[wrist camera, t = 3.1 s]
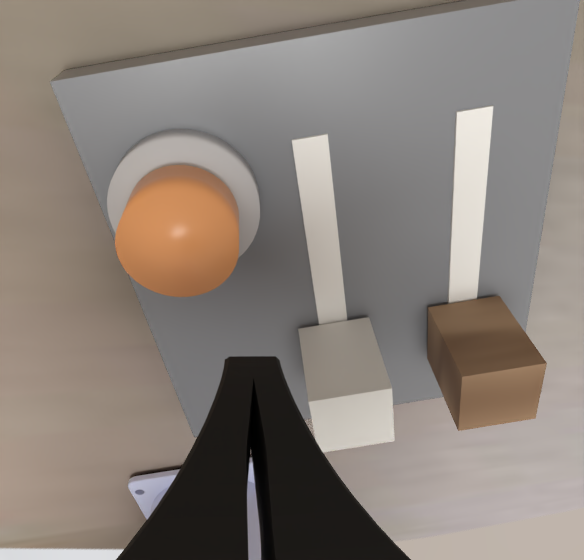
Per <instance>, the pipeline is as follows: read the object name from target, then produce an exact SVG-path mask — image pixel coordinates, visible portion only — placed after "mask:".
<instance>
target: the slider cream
mask: <svg viewBox="0 0 584 560" xmlns="http://www.w3.org/2000/svg"><path fill="white" fill-rule="evenodd" d="M298 331H299V338H300V345H301V352H302V360H303V367H304V374H305V381H306V388H307V395H308V402H309V407H310V413H311V418H312V423H313V429H314V434H315V439H316V442H317V444H318V445H319V447H320V449H321V450H322V452H330V451H336V450H342V449H348V448H355V447H361V446H367V445H373V444H379V443H386V442H392V441H394V419H393V396H392V386H391V383H390V380H389V377H388V374H387V371H386V368H385V365H384V362H383V359H382V356H381V353H380V350H379V347H378V344H377V340H376V337H375V334H374V331H373V328H372V325H371V322H370V319H369V317H367V318H361V319H355V320H349V321H342V322H336V323H330V324H324V325H318V326H312V327H306V328H300V329H298Z"/></svg>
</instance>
